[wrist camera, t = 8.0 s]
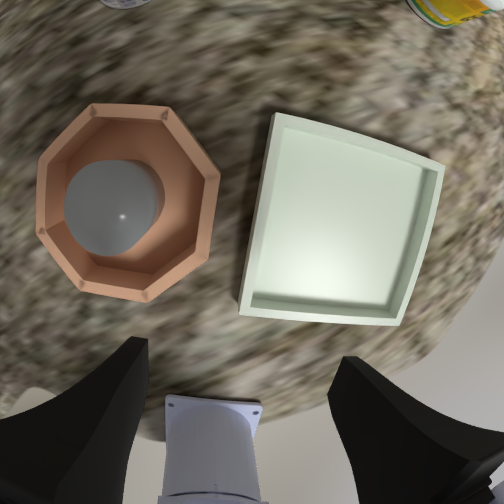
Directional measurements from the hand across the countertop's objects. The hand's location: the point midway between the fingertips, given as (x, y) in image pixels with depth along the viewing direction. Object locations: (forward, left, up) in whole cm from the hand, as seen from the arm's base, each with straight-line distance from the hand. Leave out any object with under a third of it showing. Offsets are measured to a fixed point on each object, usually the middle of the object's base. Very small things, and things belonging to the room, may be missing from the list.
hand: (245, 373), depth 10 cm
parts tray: (+4, -6, -9) cm, 12 cm away
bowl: (+4, +7, -9) cm, 12 cm away
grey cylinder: (+4, +7, -9) cm, 12 cm away
